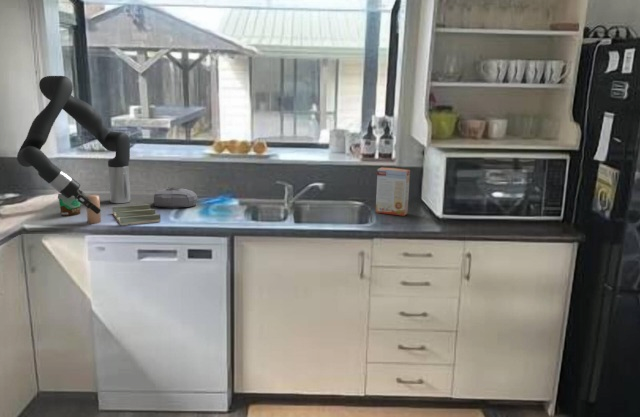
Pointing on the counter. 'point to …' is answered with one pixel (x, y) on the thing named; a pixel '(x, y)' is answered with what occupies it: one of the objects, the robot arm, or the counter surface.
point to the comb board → (135, 214)
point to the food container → (69, 205)
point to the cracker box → (392, 191)
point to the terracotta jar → (91, 215)
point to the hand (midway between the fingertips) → (98, 210)
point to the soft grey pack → (175, 198)
